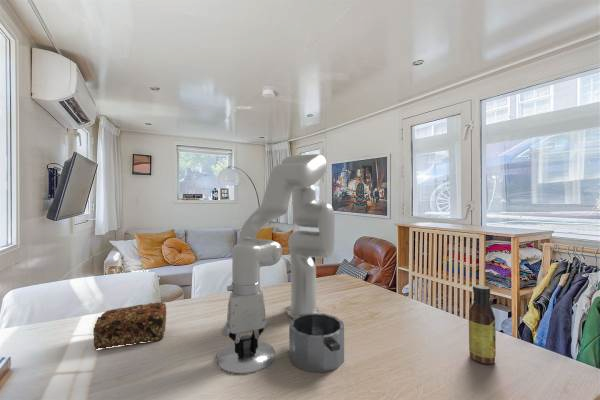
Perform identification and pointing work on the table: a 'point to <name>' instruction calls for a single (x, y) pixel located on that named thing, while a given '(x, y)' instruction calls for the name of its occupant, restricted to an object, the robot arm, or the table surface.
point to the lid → (245, 357)
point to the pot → (316, 342)
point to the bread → (130, 325)
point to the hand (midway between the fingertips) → (246, 352)
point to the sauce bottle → (482, 327)
